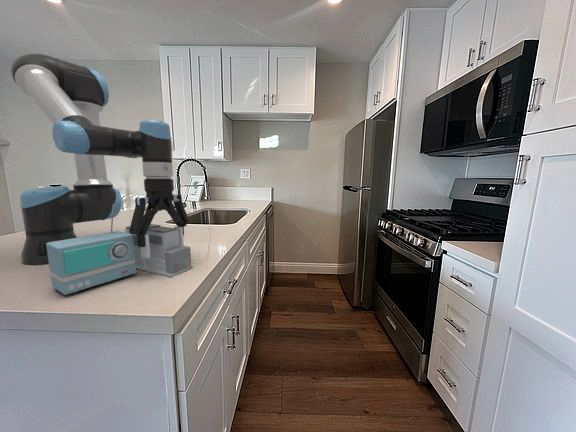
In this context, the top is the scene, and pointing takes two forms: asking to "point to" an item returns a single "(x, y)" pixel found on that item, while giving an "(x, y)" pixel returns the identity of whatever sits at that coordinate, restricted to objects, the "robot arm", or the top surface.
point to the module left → (137, 250)
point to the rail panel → (163, 267)
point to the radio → (90, 260)
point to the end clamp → (176, 258)
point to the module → (162, 241)
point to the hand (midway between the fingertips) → (163, 251)
